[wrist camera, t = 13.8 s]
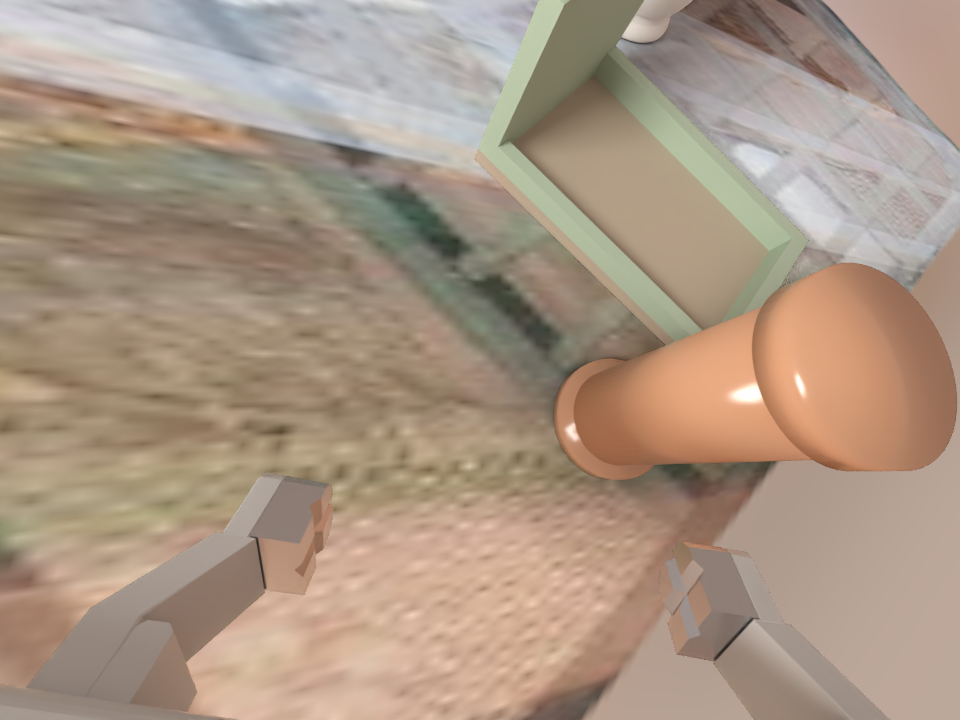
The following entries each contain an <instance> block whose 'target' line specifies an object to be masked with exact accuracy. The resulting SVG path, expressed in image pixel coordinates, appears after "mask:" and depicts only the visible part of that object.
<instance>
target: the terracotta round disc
mask: <svg viewBox="0 0 960 720" xmlns="http://www.w3.org/2000/svg"><path fill="white" fill-rule="evenodd" d="M623 362H625V361H623V360H618V359H600V360H596V361H593V362H590V363H588V364H586V365H584V366H582V367H580V368H578V369H576V370H575V371H573V372H572V373H571V374H570V375H569V376H568V377H567V378H566V379H565V380H564V382H563V383H562V384H561V386H560V388H559V390H558V392H557V395H556V398H555V403H554V411H553V419H554V427H555V432H556V435H557V438H558V441H559V443H560V445H561V447H562V449H563V451H564V452H565V454H566V455H567V456H568V458H569V459H570V460H571V461H572V462H573V463H574V464H575V465H576V466H577V467H578V468H580V469H581V470H583V471H584V472H586V473H587V474H590V475H592V476H594V477H597V478H601V479H611V480H626V479H632V478H635V477H638V476H640V475H642V474H644V473H646V472H647V471H649V470H650V469H651V468H652V467H653V466H654V465H623V466H618V465H612V464H608V463H606V462H603V461H601V460H600V459H598V458H596V457H595V456H594V455H593V454H591V452H590V451H589V450H588V449H587V448H586V447H585V446H584V444H583V443H582V441H581V439H580V437H579V435H578V433H577V430H576V427H575V422H574V403H575V398H576V395H577V393H578V391H579V389H580V387H581V386H582V384H583V383H584V382H585V381H586V380H587V379H588V378H589V377H590V376H592V375H594V374H596V373H598V372H600V371H603V370H605V369H608V368H610V367H613V366H615V365H618V364H620V363H623Z"/></svg>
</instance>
